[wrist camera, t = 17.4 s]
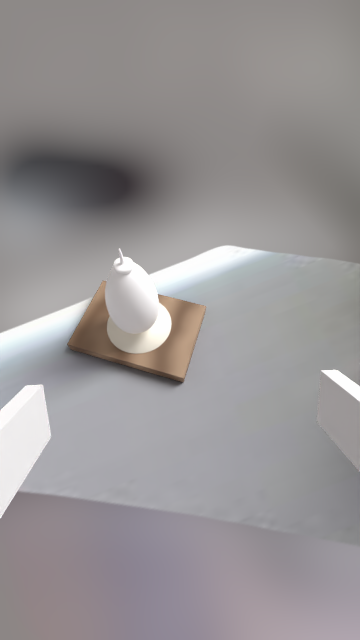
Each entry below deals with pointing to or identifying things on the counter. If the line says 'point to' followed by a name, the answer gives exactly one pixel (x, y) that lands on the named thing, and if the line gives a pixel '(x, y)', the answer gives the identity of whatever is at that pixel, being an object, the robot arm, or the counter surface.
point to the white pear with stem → (131, 296)
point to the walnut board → (142, 337)
